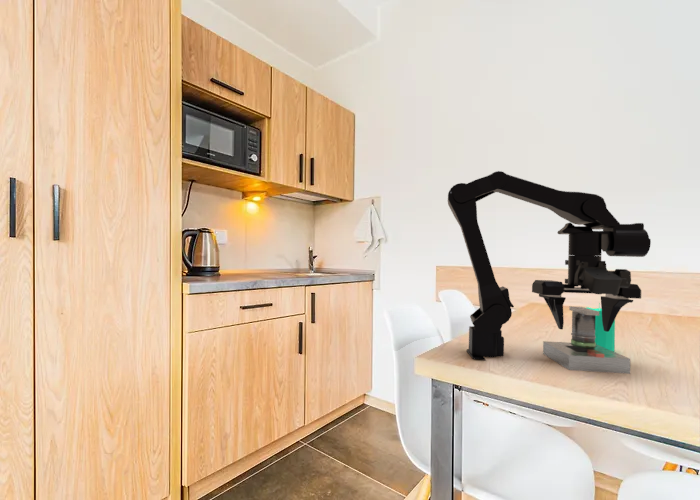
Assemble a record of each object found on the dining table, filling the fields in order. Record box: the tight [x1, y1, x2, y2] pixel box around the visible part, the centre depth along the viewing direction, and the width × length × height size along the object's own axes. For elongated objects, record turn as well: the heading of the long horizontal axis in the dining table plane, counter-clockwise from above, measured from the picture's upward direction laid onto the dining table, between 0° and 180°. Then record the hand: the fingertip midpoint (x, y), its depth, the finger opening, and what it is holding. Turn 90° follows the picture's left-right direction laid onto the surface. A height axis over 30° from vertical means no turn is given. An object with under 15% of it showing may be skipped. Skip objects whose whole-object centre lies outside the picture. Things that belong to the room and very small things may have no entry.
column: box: [568, 305, 599, 349], centre depth 71 cm, size 4×6×8 cm, turn 174°
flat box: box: [542, 340, 631, 375], centre depth 71 cm, size 16×16×4 cm
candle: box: [585, 302, 616, 353], centre depth 82 cm, size 6×6×12 cm
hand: (583, 330), depth 71 cm, fingers open, 9 cm apart
